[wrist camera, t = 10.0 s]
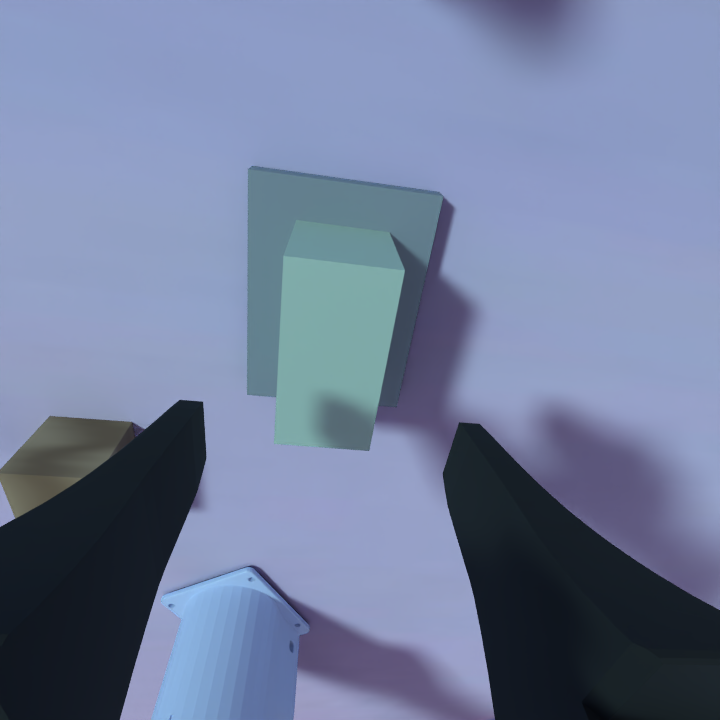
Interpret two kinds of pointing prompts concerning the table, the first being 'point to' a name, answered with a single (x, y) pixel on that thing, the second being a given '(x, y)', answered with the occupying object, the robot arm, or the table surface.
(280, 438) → the tall sage green block
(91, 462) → the plain olive brown cube
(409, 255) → the rubber mat
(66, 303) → the table surface
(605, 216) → the table surface
